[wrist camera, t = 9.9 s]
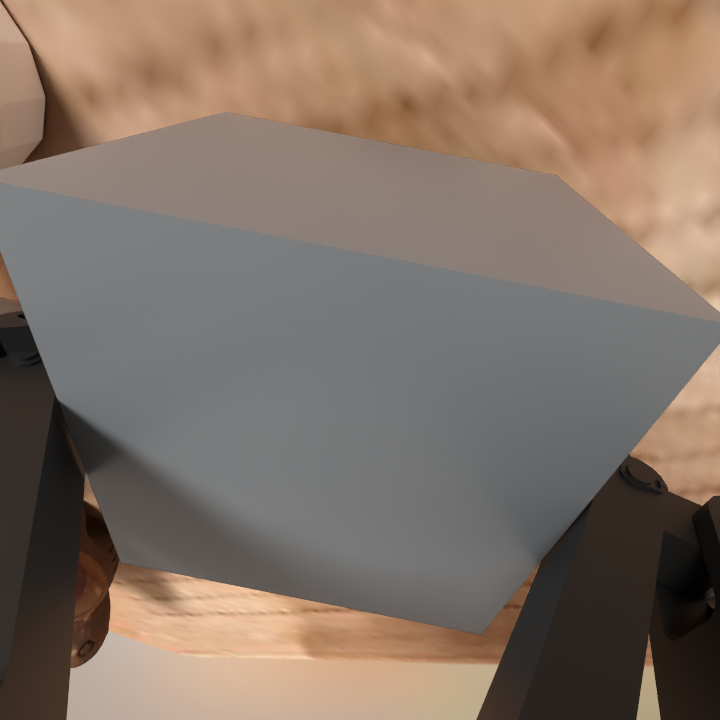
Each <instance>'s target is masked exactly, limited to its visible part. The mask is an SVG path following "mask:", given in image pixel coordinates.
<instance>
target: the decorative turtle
mask: <svg viewBox="0 0 720 720" xmlns="http://www.w3.org/2000/svg"><path fill="white" fill-rule="evenodd" d="M119 560H120V559H119V556H118V554H117V551H116V549H115V546H114V544H113V541H112V538H111V536H110V533H109V531H107V532H102V533H98V534H94V535H88V534H87V531H86V520H85V509H84V505H83V511H82V524H81V537H80V550H79V562H78V575H77V588H76V601H75V614H74V627H73V640H72V653H71V666H70V668H75V667H78V666H81V665H82V664H84V663H86V662H87V661H88V660H90V659H91V658H92V657H93V656H94V655H95V654H96V653H97V652H98V650H99V649H100V647H101V646H102V644H103V642H104V640H105V637H106V635H107V633H108V629H109V620H110V597H109V591H108V590H109V587H110V585H111V583H112V581H113V578H114V575H115V572H116V570H117V567H118V563H119Z"/></svg>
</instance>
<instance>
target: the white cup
mask: <svg viewBox="0 0 720 720" xmlns="http://www.w3.org/2000/svg"><path fill="white" fill-rule="evenodd" d="M44 113H45V94H44V91H43V87H42V84H41V81H40V78H39V75H38V72H37V68H36V65H35V62H34V59H33V56H32V53H31V50H30V47H29V44H28V42H27V41H26V39H25V38H24V36H23V35H22V33H21V32H20V30H19V29H18V27H17V26H16V24H15V23H14V21H13V20H12V18H11V17H10V15H9V14H8V12H7V10H6V9H5V7H4V6H3V4H2V3H1V1H0V170H1V169H5V168H9V167H13V166H17V165H20V164H22V163H23V162H24V161H25V160H26V159H27V157H28V156H29V155H30V154H31V152H32V151H33V150H34V149H35V147H36V146H37V145H38V144H39V143H40V141H41V140H42V138H43V127H44Z"/></svg>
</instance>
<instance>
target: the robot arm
mask: <svg viewBox="0 0 720 720" xmlns="http://www.w3.org/2000/svg"><path fill="white" fill-rule="evenodd" d="M85 472H86V471H85V469H84V466H83V464H82V461H81V459H80V456H79V453H78V451H77V448H76V446H75V443H74V441H73V438H72V435H71V433H70V430H69V428H68V425H67V422H66V420H65V417H64V415H63V412H62V410H61V407H60V404H59V402H58V399H57V397H56V394H55V392H54V389H53V386H52V384H51V381H50V379H49V376H48V374H47V371H46V368H45V366H44V363H43V361H42V358H41V356H40V353H39V350H38V348H37V345H36V343H35V340H34V337H33V335H32V332H31V330H30V327H29V325H28V322H27V319H26V317H25V314H24V312H23V311H16V312H10V313H4V314H1V315H0V720H66V717H67V704H68V692H69V691H68V690H69V678H70V666H71V653H72V640H73V627H74V614H75V601H76V588H77V575H78V562H79V550H80V537H81V524H82V511H83V498H84V485H85ZM714 596H715V597H714ZM648 635H650V643H651V650H652V658H653V665H654V672H655V680H656V687H657V695H658V702H659V709H660V717H661V720H720V496H713V497H712V498H711V499H710V500H709V501H707V502H706V503H705V504H704V505H703V506H701V505H698V504H696V503H694V502H691V501H689V500H687V499H685V498H682V497H680V496H678V495H675V494H673V493H671V492H669V491H668V488H667V485H666V484H665V482H664V480H663V479H662V477H661V476H660V475H659V474H658V473H657V472H656V471H655V470H654V469H653V468H651V467H650V466H648V465H647V464H645V463H644V462H642V461H640V460H638V459H636V458H633V457H631V456H630V454H629V455H628V456H627V457H626V458H625V460H624V461H623V462H622V463H621V464H620V466H619V467H618V468H617V469H616V471H615V472H614V473H613V474H612V475H611V477H610V478H609V479H608V480H607V482H606V483H605V484H604V485H603V486H602V488H601V489H600V490H599V491H598V492H597V494H596V495H595V496H594V497H593V499H592V500H591V501H590V502H589V503H588V505H587V506H586V507H585V508H584V510H583V511H582V512H581V513H580V514H579V516H578V517H577V518H576V519H575V521H574V522H573V523H572V524H571V525H570V527H569V528H568V529H567V530H566V532H565V533H564V534H563V535H562V536H561V538H560V539H559V540H558V541H557V542H556V544H555V545H554V546H553V547H552V549H551V550H550V551H549V552H548V553H547V555H546V556H545V557H544V558H543V560H542V561H541V564H540V566H539V569H538V571H537V574H536V576H535V578H534V581H533V583H532V586H531V588H530V591H529V593H528V595H527V598H526V600H525V603H524V605H523V608H522V610H521V613H520V615H519V617H518V620H517V622H516V625H515V627H514V630H513V632H512V634H511V637H510V639H509V642H508V644H507V647H506V649H505V651H504V654H503V656H502V659H501V661H500V664H499V666H498V669H497V671H496V673H495V676H494V678H493V681H492V683H491V686H490V688H489V690H488V693H487V695H486V698H485V701H484V703H483V705H482V708H481V710H480V712H479V715H478V717H477V720H636V717H637V711H638V704H639V696H640V689H641V683H642V676H643V669H644V662H645V655H646V649H647V642H648Z"/></svg>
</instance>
